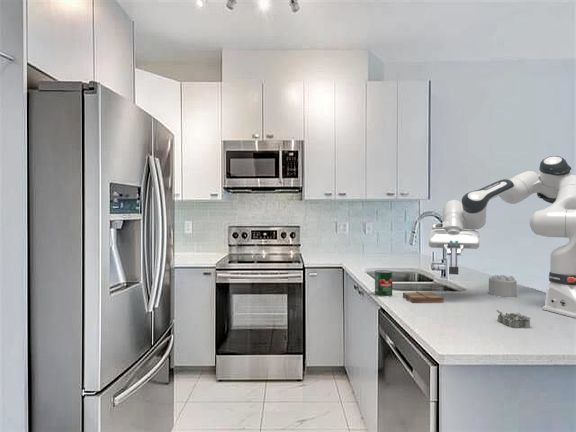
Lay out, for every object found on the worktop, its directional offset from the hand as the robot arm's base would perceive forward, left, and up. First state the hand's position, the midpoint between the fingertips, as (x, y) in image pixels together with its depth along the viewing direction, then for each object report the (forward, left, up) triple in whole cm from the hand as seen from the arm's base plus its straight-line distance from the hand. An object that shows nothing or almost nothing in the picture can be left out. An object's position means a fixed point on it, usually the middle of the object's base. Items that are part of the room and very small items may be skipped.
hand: (453, 254), depth 185 cm
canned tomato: (+18, +24, -20) cm, 37 cm away
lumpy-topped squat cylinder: (+16, -31, -21) cm, 40 cm away
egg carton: (-35, -5, -21) cm, 41 cm away
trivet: (+7, +11, -20) cm, 24 cm away
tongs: (+1, 0, -8) cm, 8 cm away
